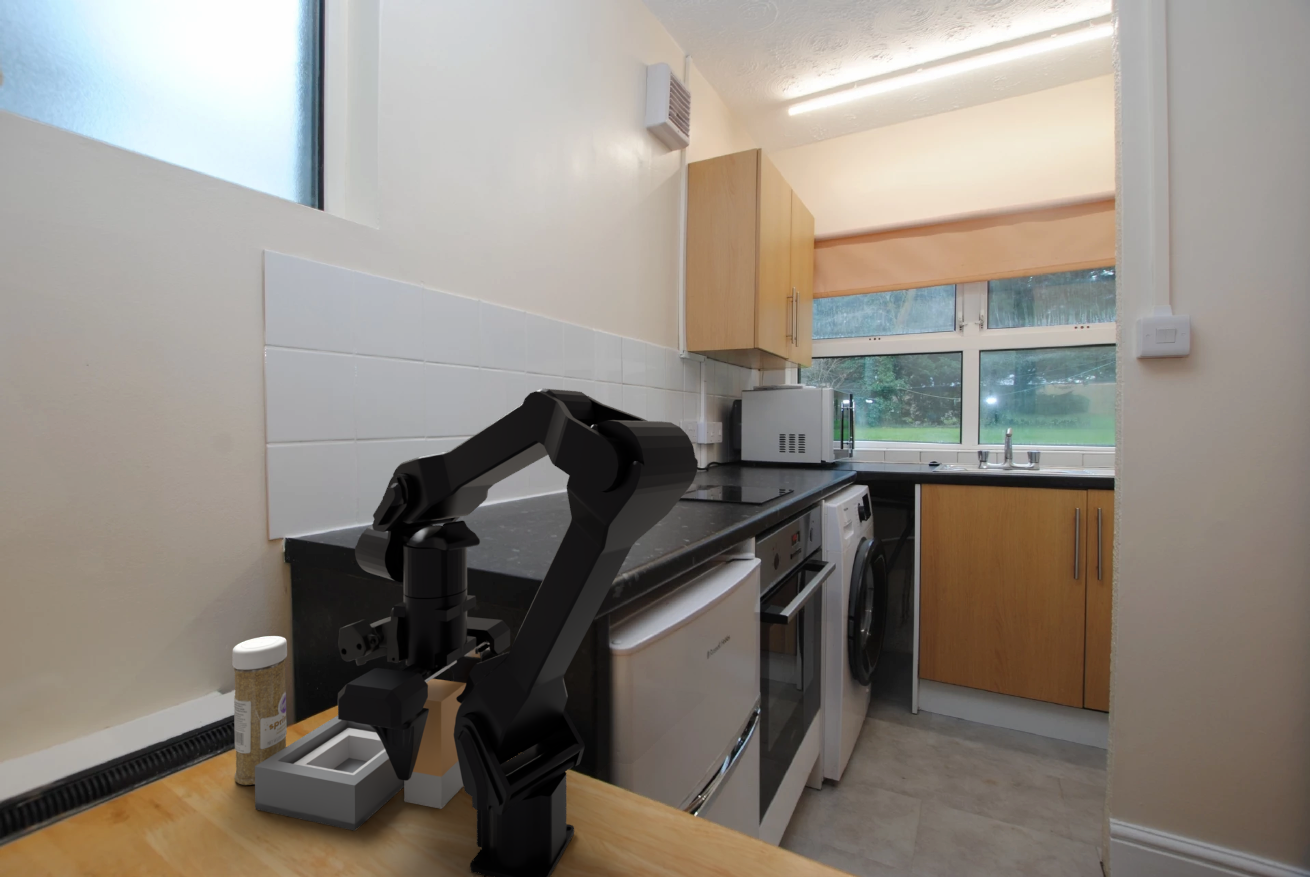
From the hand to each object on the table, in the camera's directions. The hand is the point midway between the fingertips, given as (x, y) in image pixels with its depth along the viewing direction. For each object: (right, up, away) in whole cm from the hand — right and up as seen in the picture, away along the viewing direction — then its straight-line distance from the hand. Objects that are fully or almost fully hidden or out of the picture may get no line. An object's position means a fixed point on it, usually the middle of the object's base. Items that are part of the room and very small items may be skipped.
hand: (436, 751), depth 55 cm
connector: (0, -4, 0) cm, 4 cm away
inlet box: (-9, -4, +1) cm, 10 cm away
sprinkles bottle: (-19, -4, +3) cm, 20 cm away
